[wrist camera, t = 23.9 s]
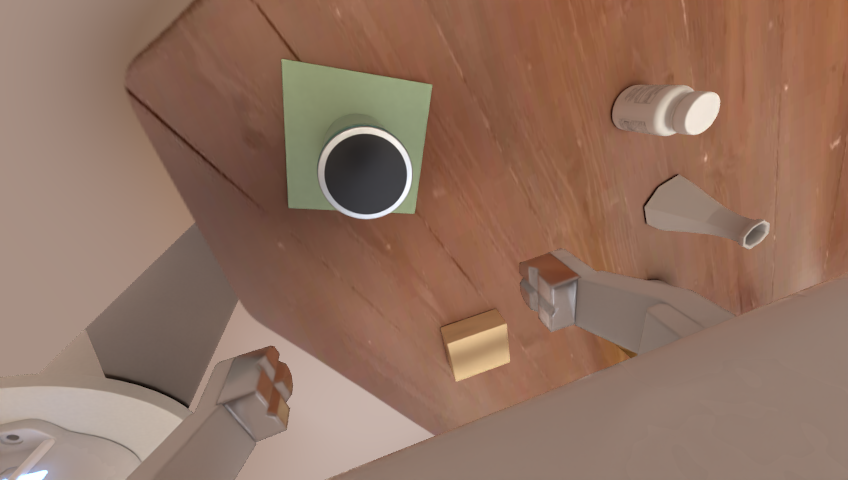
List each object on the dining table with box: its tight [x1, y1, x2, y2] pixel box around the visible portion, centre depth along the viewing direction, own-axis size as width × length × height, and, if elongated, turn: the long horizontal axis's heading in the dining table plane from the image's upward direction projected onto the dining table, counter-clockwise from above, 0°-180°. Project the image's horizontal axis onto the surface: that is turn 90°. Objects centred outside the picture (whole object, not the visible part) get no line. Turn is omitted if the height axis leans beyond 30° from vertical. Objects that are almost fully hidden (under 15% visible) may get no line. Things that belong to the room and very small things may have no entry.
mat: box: [281, 59, 432, 214], centre depth 27 cm, size 12×12×1 cm
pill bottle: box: [612, 85, 720, 136], centre depth 29 cm, size 4×4×8 cm
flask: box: [645, 175, 770, 249], centre depth 36 cm, size 7×7×10 cm
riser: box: [441, 309, 510, 382], centre depth 41 cm, size 8×8×3 cm
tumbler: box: [317, 114, 413, 219], centre depth 23 cm, size 9×6×6 cm
